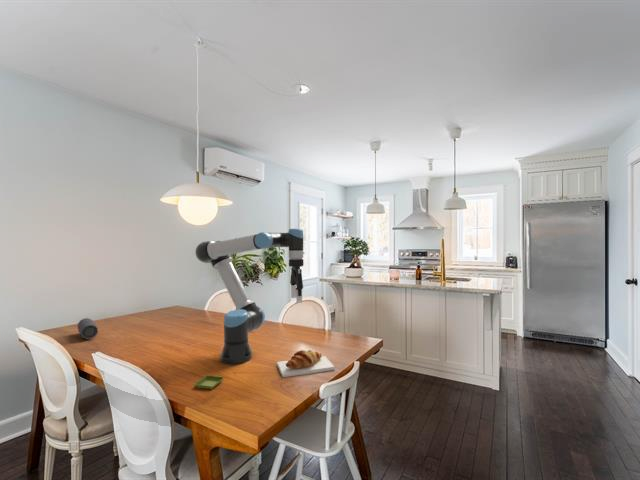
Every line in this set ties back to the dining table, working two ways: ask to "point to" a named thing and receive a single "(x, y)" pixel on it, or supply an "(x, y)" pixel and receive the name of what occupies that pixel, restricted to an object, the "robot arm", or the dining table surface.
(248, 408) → the dining table surface
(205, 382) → the saucer
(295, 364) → the croissant
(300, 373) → the platter
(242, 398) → the dining table surface
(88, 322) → the bluetooth speaker
